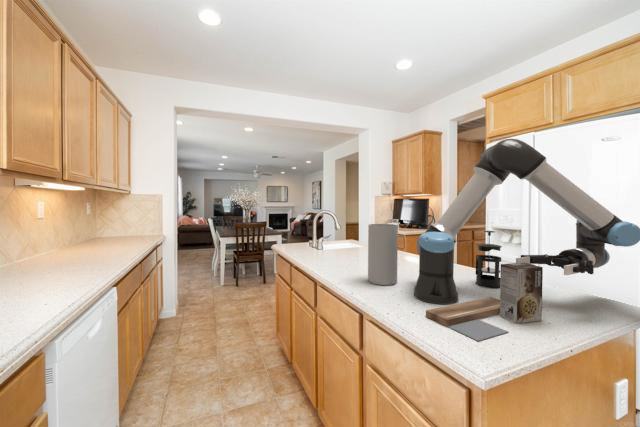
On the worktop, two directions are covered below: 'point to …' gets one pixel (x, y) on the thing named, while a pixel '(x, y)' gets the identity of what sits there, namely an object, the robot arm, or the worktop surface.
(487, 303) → the walnut board
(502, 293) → the coffee box
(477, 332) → the end pad
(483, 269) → the french press
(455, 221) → the robot arm
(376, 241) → the cylinder vase
